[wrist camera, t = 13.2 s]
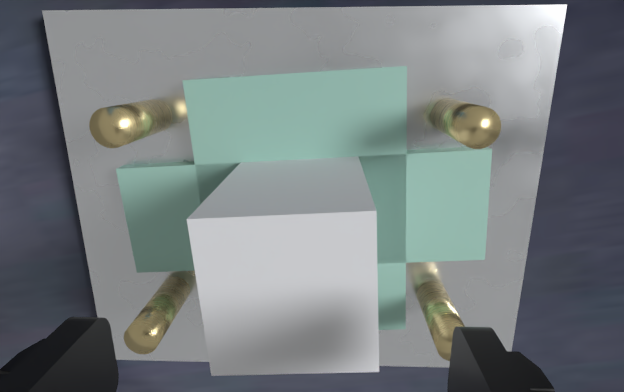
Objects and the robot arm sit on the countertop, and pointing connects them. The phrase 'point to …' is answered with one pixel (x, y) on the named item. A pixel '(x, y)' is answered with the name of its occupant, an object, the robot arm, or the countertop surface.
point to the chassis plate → (299, 59)
